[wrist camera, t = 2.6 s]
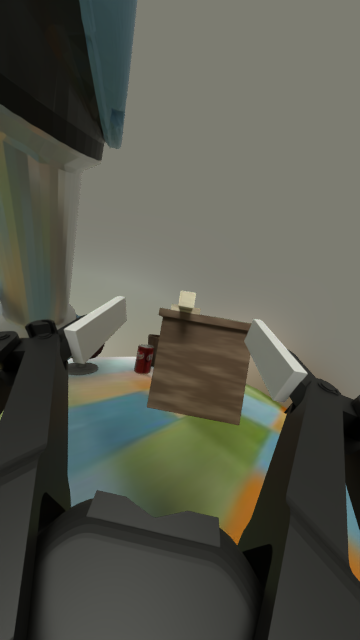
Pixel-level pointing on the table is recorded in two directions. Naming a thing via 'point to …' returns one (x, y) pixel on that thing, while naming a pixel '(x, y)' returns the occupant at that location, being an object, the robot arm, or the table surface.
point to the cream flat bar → (186, 303)
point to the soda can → (144, 359)
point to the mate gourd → (84, 365)
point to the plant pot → (153, 342)
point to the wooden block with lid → (200, 366)
